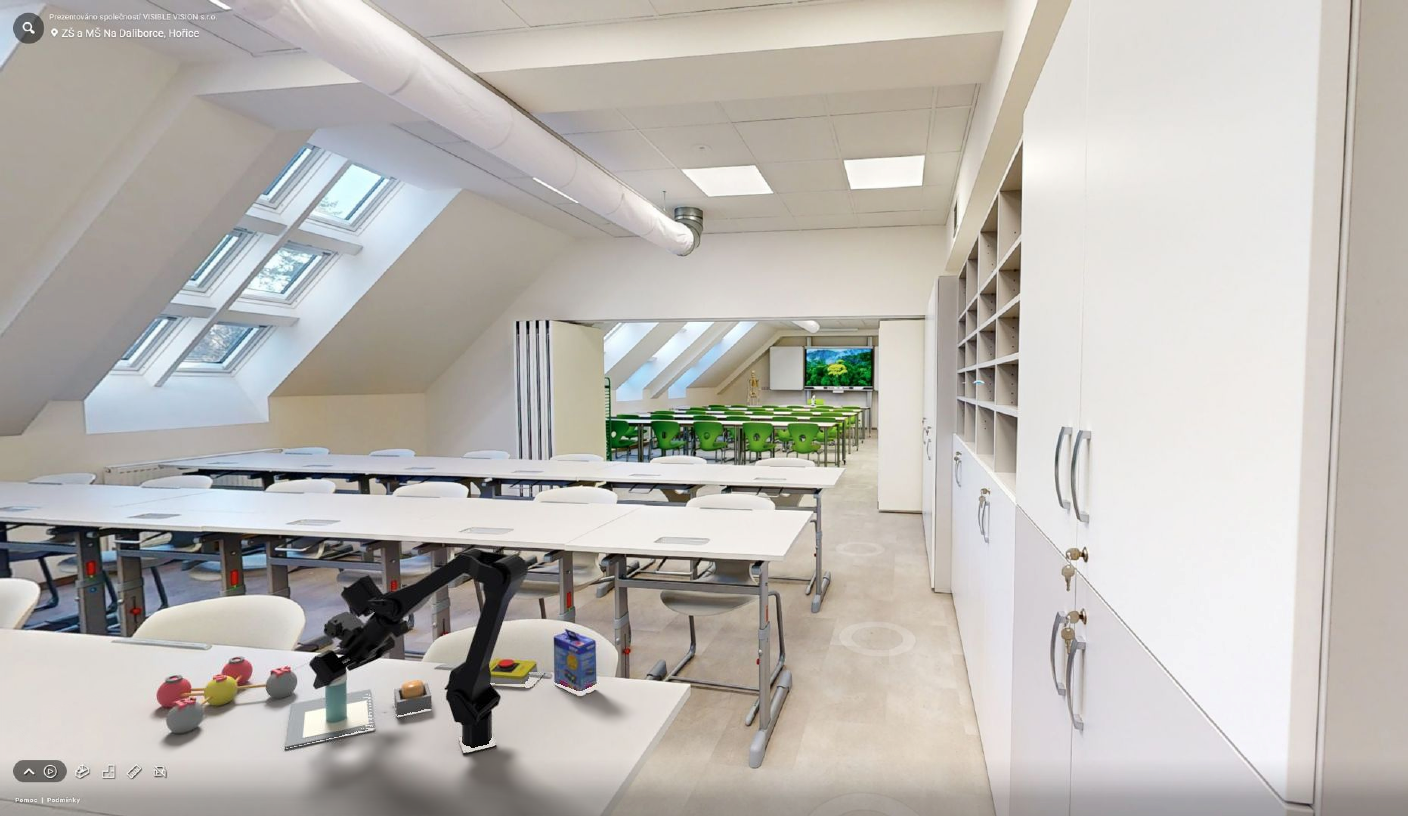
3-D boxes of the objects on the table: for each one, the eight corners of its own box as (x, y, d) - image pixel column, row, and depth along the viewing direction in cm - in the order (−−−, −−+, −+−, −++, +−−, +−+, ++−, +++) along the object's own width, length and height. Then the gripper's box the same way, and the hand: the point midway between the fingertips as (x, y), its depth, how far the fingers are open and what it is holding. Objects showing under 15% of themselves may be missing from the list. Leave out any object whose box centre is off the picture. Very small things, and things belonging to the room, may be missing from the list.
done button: (424, 700, 151) (424, 686, 151) (402, 704, 149) (402, 690, 149) (422, 691, 155) (422, 679, 155) (401, 696, 153) (401, 682, 153)
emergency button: (489, 652, 173) (546, 656, 171) (490, 669, 174) (546, 673, 171) (472, 668, 164) (531, 672, 162) (472, 685, 164) (531, 690, 162)
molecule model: (173, 742, 138) (172, 711, 138) (134, 713, 150) (133, 684, 149) (302, 695, 159) (302, 668, 158) (259, 672, 170) (259, 647, 170)
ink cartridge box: (552, 686, 164) (552, 626, 163) (570, 678, 168) (570, 620, 167) (579, 698, 157) (579, 636, 157) (597, 690, 162) (597, 630, 161)
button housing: (431, 711, 151) (431, 695, 151) (396, 718, 148) (396, 702, 147) (427, 697, 157) (427, 682, 157) (394, 704, 154) (394, 689, 154)
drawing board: (374, 730, 142) (374, 727, 142) (284, 749, 135) (284, 746, 135) (370, 691, 160) (370, 688, 160) (290, 706, 152) (290, 703, 152)
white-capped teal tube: (341, 722, 144) (340, 676, 144) (321, 722, 144) (320, 676, 143) (351, 713, 148) (350, 667, 148) (331, 713, 148) (331, 667, 148)
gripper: (383, 589, 153) (342, 633, 156) (316, 617, 135) (272, 666, 138) (413, 627, 151) (372, 670, 154) (350, 661, 133) (304, 709, 136)
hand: (332, 677), depth 146 cm, fingers open, 9 cm apart
